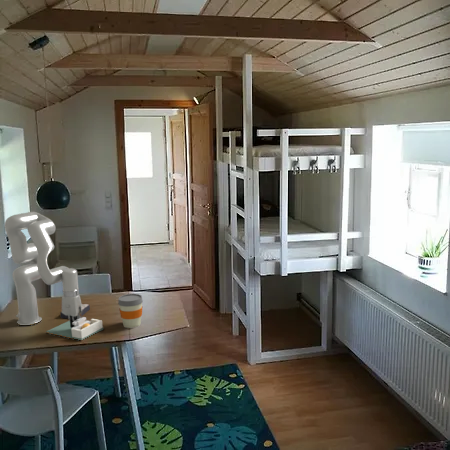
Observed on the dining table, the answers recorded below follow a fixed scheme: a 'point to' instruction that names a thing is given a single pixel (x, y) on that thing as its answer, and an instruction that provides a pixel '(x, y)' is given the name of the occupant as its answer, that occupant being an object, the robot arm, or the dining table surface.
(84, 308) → the calculator
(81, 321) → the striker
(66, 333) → the pitch
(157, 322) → the dining table surface
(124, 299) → the reusable coffee cup
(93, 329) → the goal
